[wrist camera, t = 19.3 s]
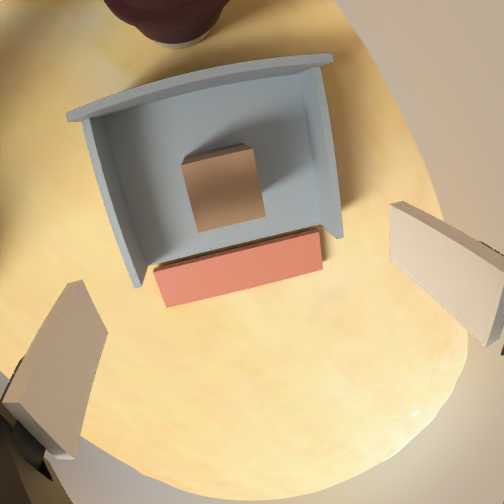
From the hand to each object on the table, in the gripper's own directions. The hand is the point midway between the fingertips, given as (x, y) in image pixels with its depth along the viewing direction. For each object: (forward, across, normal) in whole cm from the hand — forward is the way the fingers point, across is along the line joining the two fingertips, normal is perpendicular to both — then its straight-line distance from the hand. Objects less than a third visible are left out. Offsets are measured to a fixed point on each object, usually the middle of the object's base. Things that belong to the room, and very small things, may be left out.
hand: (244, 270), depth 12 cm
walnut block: (+22, 0, 0) cm, 22 cm away
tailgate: (+22, 0, -9) cm, 24 cm away
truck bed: (+23, 0, +1) cm, 23 cm away
